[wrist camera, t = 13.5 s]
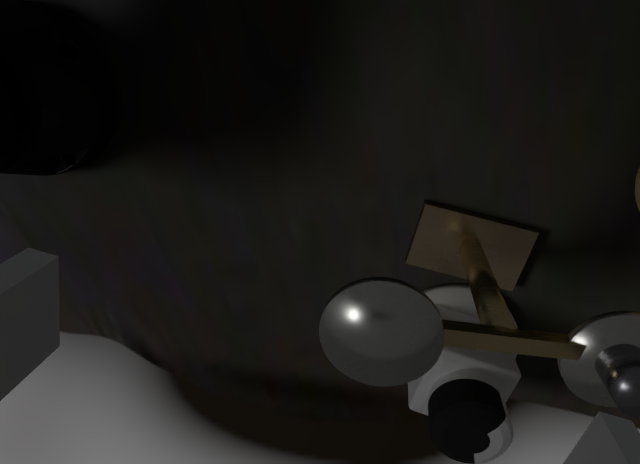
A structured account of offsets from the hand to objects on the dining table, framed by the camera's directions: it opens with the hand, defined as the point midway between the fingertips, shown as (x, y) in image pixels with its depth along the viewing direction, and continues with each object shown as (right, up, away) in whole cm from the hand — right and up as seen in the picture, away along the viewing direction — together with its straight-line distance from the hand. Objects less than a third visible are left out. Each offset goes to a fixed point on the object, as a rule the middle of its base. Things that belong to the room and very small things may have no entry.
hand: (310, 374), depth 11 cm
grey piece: (+13, -7, +33) cm, 37 cm away
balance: (+14, +2, +30) cm, 33 cm away
